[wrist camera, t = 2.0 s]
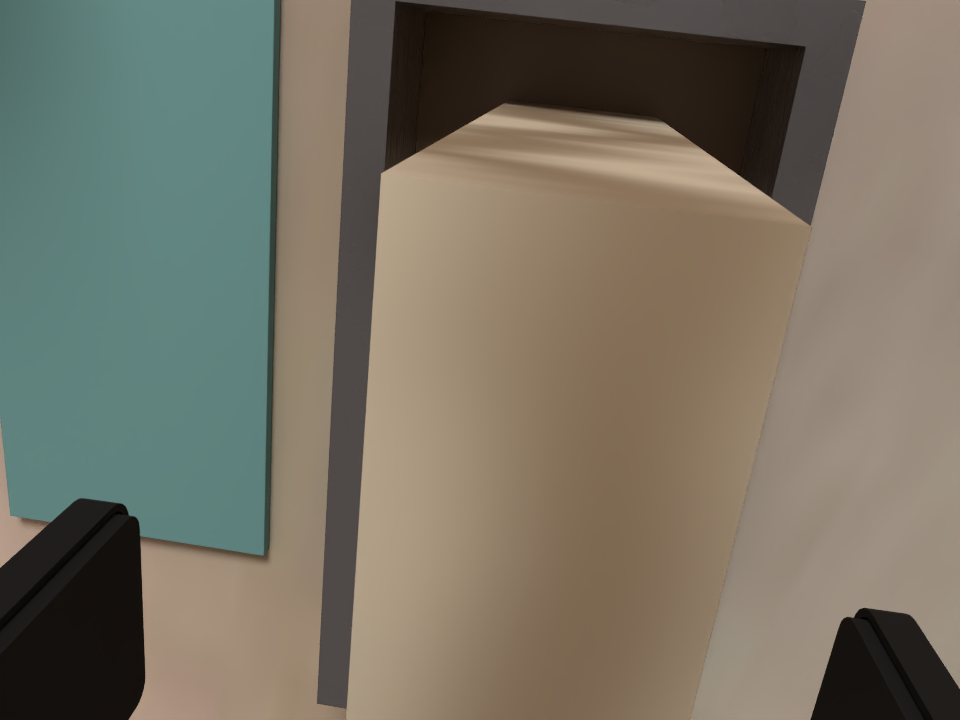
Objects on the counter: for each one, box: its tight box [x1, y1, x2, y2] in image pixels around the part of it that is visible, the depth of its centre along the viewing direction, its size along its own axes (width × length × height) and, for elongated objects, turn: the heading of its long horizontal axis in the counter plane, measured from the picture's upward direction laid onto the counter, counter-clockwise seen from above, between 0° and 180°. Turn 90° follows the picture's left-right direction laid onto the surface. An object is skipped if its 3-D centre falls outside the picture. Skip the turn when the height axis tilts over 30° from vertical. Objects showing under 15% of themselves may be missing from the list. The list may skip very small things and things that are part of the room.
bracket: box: [317, 0, 866, 709], centre depth 23 cm, size 11×21×4 cm, turn 174°
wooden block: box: [346, 100, 812, 720], centre depth 17 cm, size 4×12×16 cm, turn 174°
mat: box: [0, 0, 281, 556], centre depth 26 cm, size 9×18×1 cm, turn 174°
